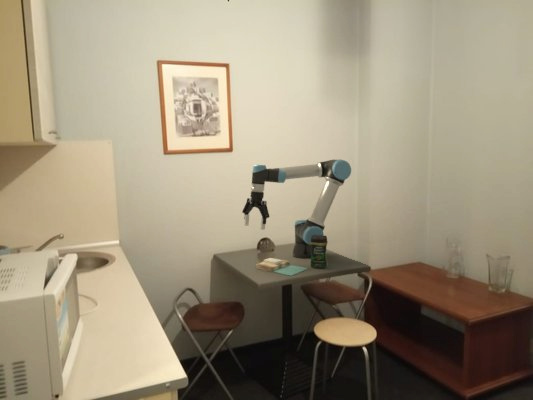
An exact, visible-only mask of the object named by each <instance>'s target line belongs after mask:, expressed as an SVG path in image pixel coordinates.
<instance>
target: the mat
mask: <svg viewBox="0 0 533 400" xmlns="http://www.w3.org/2000/svg"><path fill="white" fill-rule="evenodd" d="M306 270H309V268H307V267H301V266H298V265H292V264H289V265H288V266H286V267H283V268H280V269H278V270H275V271H273V272H272V273H276V274H280V275H285V276H288V275H289V276H290V277H293V276H295V275H297V274H299V273H302V272H305V271H306Z"/></svg>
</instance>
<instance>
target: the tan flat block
mask: <svg viewBox="0 0 533 400" xmlns="http://www.w3.org/2000/svg"><path fill="white" fill-rule="evenodd" d="M274 259H276V258H274ZM278 259H279V258H278ZM279 260H282V263H280V264H277V265H272V264H267V263H264V261H262V262H259V263H256V264H255V269H256V270H262V271H265V272H266V271H267V272H271V273H274V272H273V271H275V270H278V269H280V268H283V267H286V266H288V265H290V261H289V260H285V259H279Z"/></svg>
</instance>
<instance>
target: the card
mask: <svg viewBox="0 0 533 400" xmlns="http://www.w3.org/2000/svg"><path fill="white" fill-rule="evenodd" d="M282 260H283V259H280V260H279V258H275V259H274V258H273V257H268V258H266V259H263V262H264V263H267V264H272V265H277V264H280V263H282Z"/></svg>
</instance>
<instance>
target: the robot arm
mask: <svg viewBox="0 0 533 400" xmlns="http://www.w3.org/2000/svg"><path fill="white" fill-rule="evenodd" d="M251 173H252V174H251V175H252V176H251V188H250V189H251V191H250V198H249V197H248V198H246V202H245V204H244V207H243V210H242V212H241V213H243V214H244V218H243V219H244V226H246V227H247V226H249V224H250V222H249V221H250V213H251V211H253V209H254V208H257V209H258V211H259V213H260V215H261V217H262V218H261V219H260V220H261V221H260V231H261V230H262V231H263V230H264V231H265V229H266V224H267V219H268V218H270V213H269V209H268V207H267V205H268V204H267V200H263V198H264V195H265V194H264V191H265V183H266V182H267V183H276V184H277V183H278V184H284V183H285V182H286V180H291V179H293V180H294V179H302V178H311V177H312V178H314V177H318V178H319V179H320V178H324V179H325V183H324V185H323V187H322V189H321V192H320V193H319V197H318V199H317V200H316V203H315V206H314V209H313V210H312V213H311V215H310V217H308V218H306V219H300V220H295V222H294V247H293V250H292V257H294V258H297V259H298V258H299V259H311V254H312V246H311V243H310V242H311V237H312V235H323V236H325V235H324V230H325V228H326V227H325V226H326V225H325V221H326V219H327V216H328V214H329V212H330V209H331V206H332V204H333V202H334V200H335V198H336V195H337V194H338V190H339V189H340V187H341V186H344V183H345V180H347V179H349V178H350V176H351V174H352V167H351V165H350V163H349V162H348V161H346V160H344V159H330V160H326V161H318V162H317V163H314V164H305V165H295V166H287V167H286V166H285V167H284V166H283V167H275V168H274V167H273V168H267V166H266V164H265V165H264V164H253V167H252V172H251Z"/></svg>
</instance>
